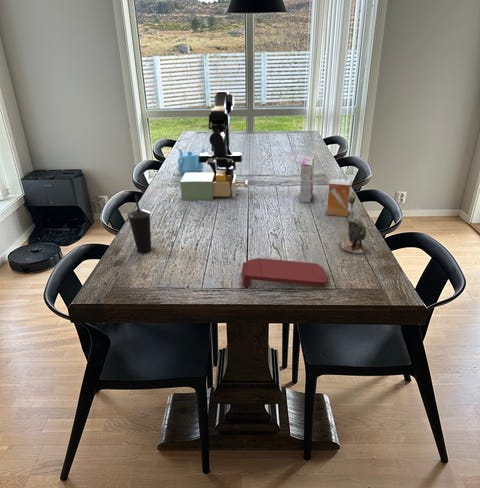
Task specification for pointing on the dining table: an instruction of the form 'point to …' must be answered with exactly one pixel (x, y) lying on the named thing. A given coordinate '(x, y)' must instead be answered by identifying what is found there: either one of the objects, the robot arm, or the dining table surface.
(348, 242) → the plant with pod
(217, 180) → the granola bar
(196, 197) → the cabinet
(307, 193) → the candy bar box
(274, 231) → the dining table surface
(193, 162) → the teapot
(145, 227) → the drinking cup
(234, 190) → the drawer
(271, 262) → the red flat block
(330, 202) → the small box
